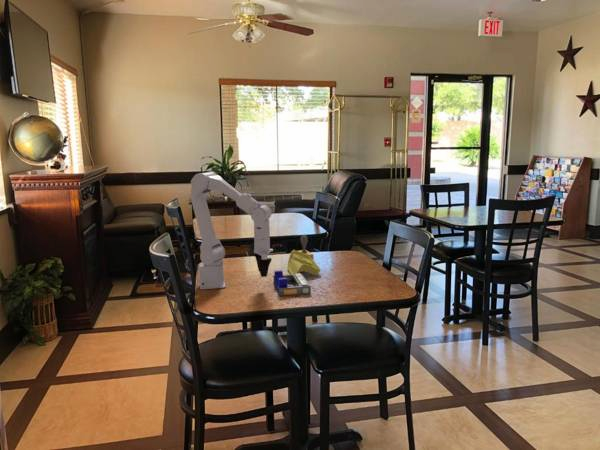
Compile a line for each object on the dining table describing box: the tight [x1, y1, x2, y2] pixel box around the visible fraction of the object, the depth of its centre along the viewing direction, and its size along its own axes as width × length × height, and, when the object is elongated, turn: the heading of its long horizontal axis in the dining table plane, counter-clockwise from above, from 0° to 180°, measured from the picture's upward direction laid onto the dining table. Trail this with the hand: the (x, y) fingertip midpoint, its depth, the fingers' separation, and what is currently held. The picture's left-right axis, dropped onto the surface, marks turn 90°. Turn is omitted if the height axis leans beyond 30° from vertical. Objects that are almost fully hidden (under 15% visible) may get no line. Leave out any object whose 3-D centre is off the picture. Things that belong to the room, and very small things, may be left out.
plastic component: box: [287, 249, 321, 277], centre depth 208 cm, size 20×7×10 cm
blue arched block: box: [273, 269, 292, 296], centre depth 183 cm, size 12×4×6 cm, turn 11°
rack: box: [272, 272, 312, 297], centre depth 184 cm, size 11×17×4 cm
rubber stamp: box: [298, 234, 315, 261], centre depth 225 cm, size 10×6×12 cm, turn 20°
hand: (262, 273), depth 181 cm, fingers open, 7 cm apart
